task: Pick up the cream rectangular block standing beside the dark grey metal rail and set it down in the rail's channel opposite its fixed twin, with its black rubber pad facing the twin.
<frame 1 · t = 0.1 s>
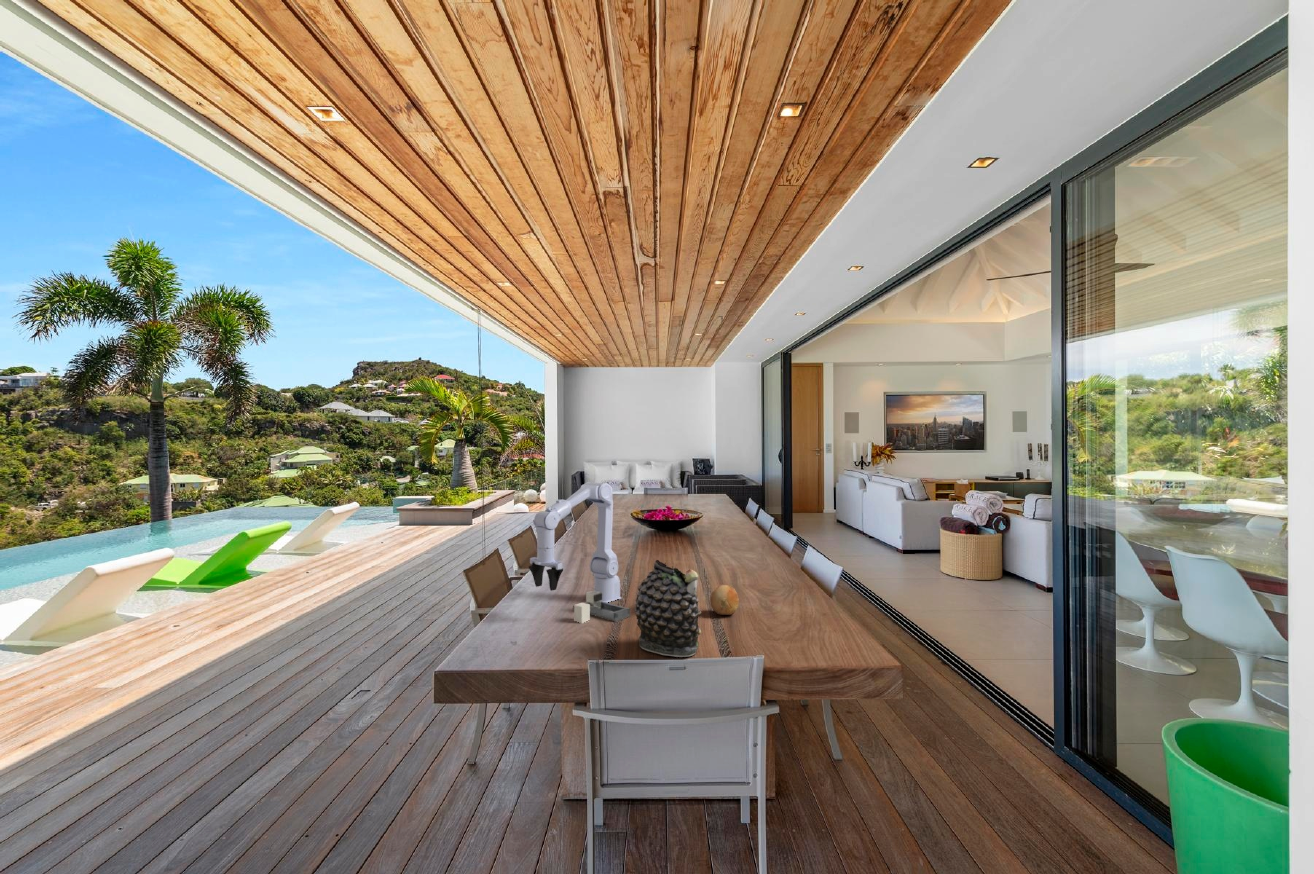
hand: (545, 588, 197), 10 cm above the table, tool pointing down, fingers open, 7 cm apart
rail: (605, 614, 201), on the table
onion: (724, 615, 201), on the table
cream rectangular block: (582, 621, 194), on the table
scaly pinecone figurine: (667, 650, 168), on the table
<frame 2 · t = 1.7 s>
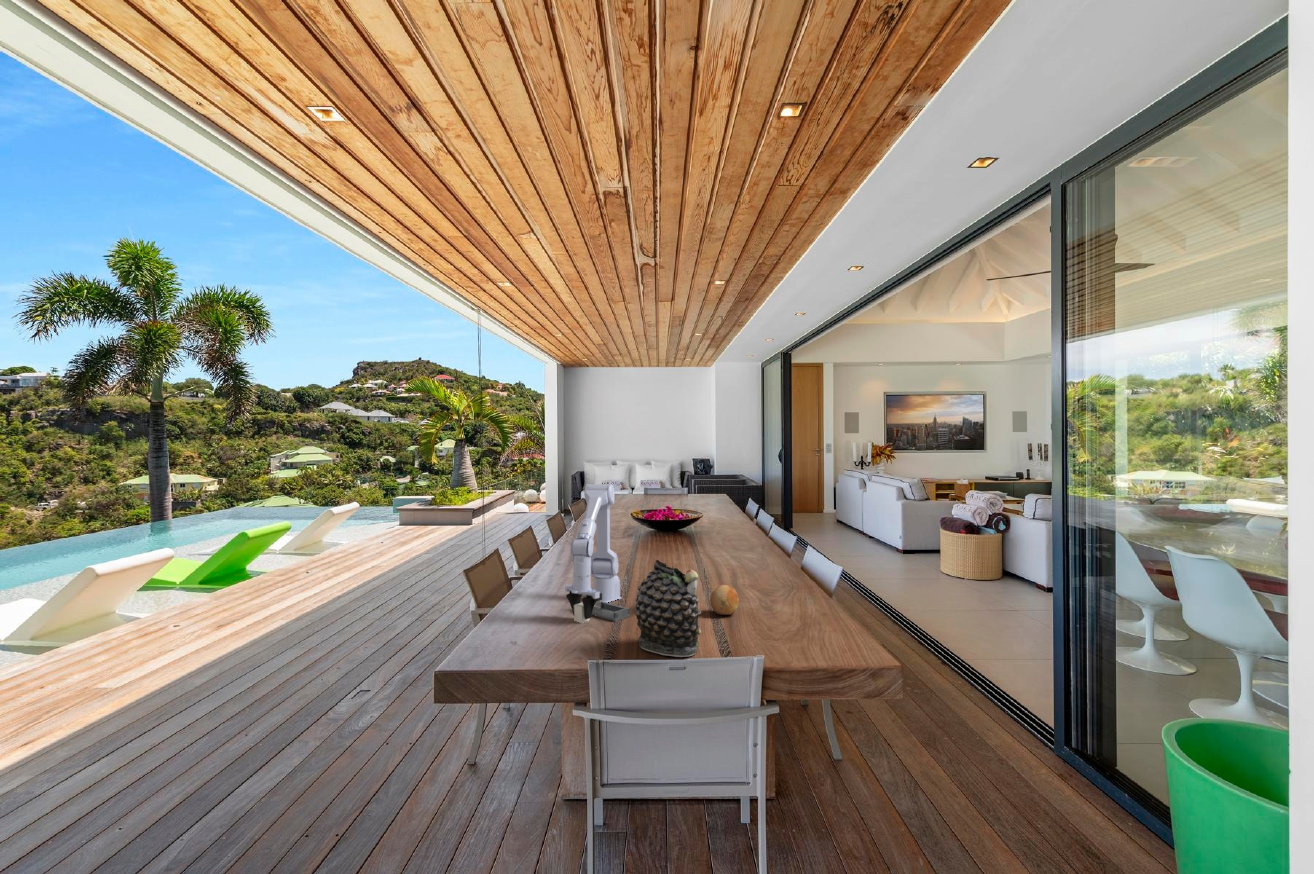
hand: (582, 616, 194), 1 cm above the table, tool pointing down, fingers open, 5 cm apart
cream rectangular block: (582, 621, 194), on the table, touching gripper
everything else where it was.
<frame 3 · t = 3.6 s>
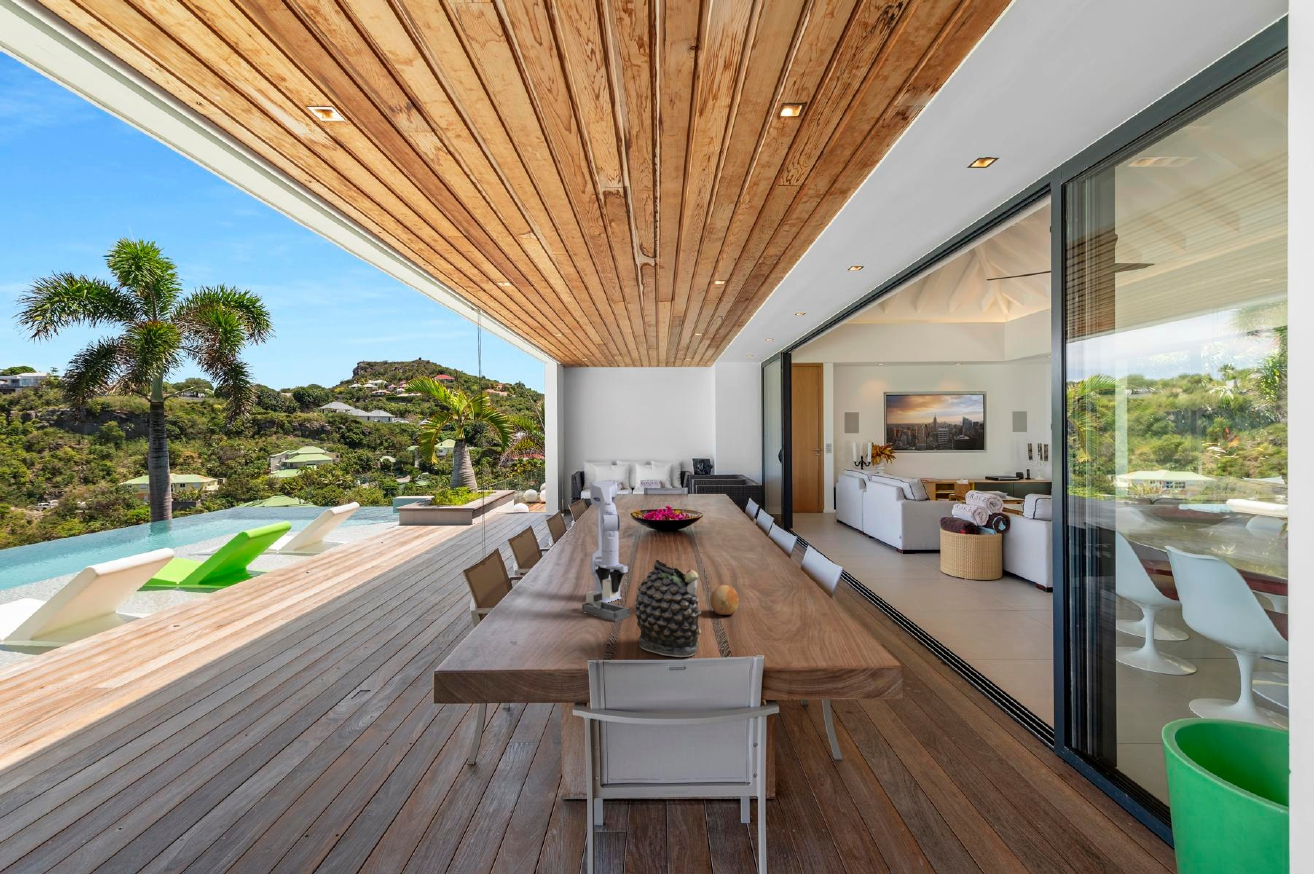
hand: (610, 590, 198), 9 cm above the table, tool pointing down, fingers closed on cream rectangular block, 4 cm apart
cream rectangular block: (610, 596, 198), point 7 cm above the table, touching gripper
everything else where it was.
when the fingers open (4 cm above the table, at t = 5.2 s): cream rectangular block stays where it is, resting on rail.
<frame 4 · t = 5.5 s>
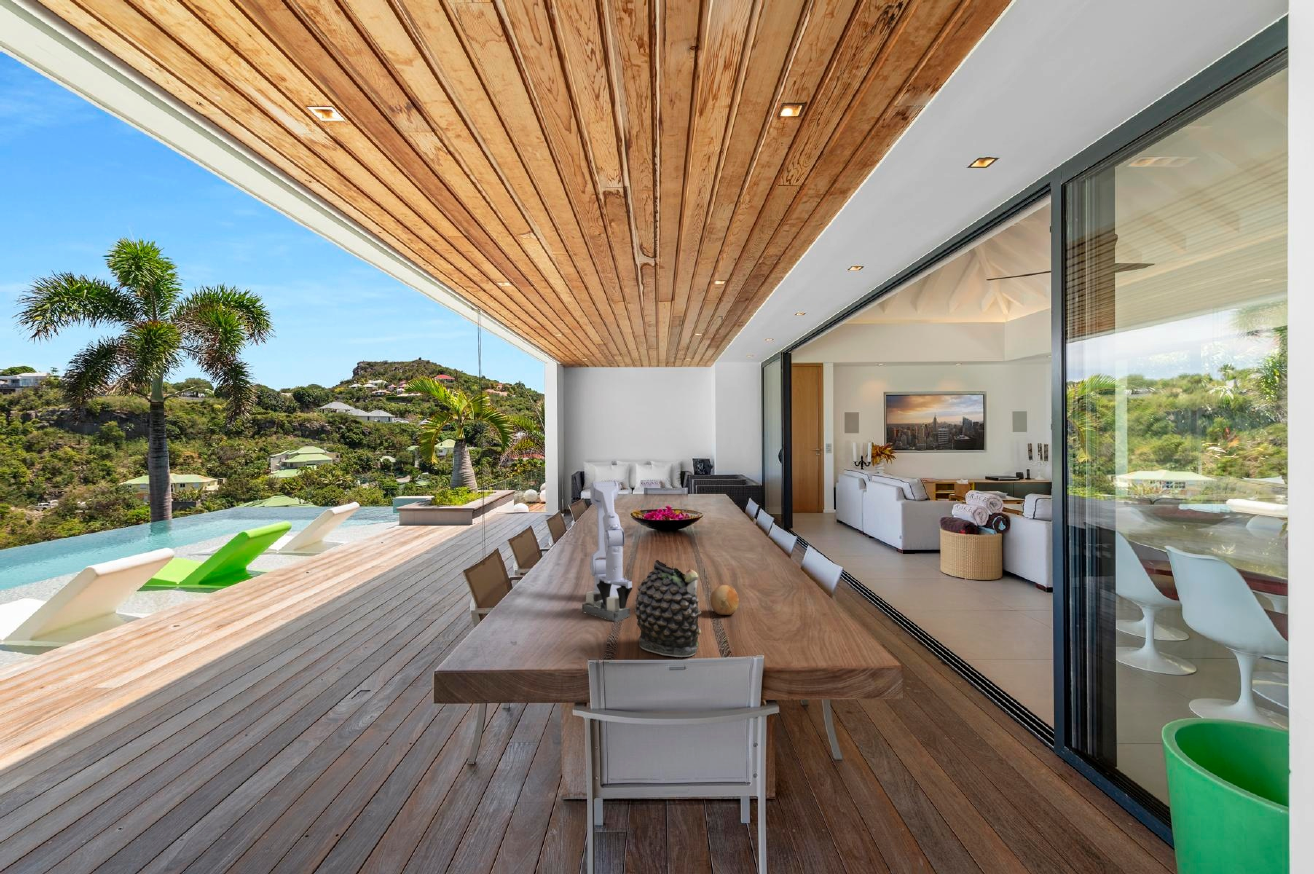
hand: (614, 606, 198), 4 cm above the table, tool pointing down, fingers open, 7 cm apart
cream rectangular block: (614, 613, 198), point 1 cm above the table, touching rail
everything else where it was.
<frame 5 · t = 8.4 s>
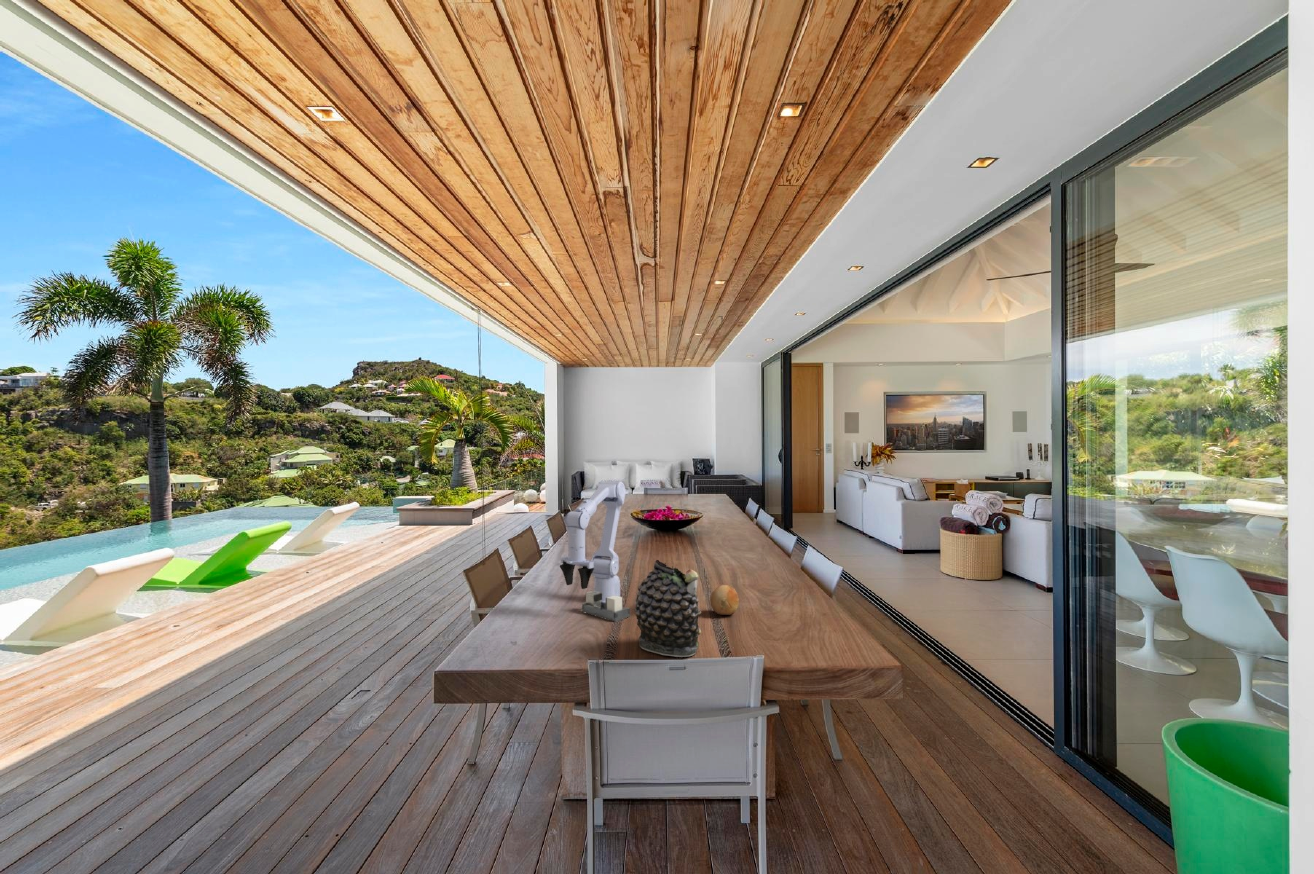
hand: (576, 586, 202), 9 cm above the table, tool pointing down, fingers open, 7 cm apart
nothing on the table moved.
at the end: cream rectangular block 0.2 cm from the target spot on the rail, point 1.2 cm above the rail's base; cream rectangular block tilted 0° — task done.
